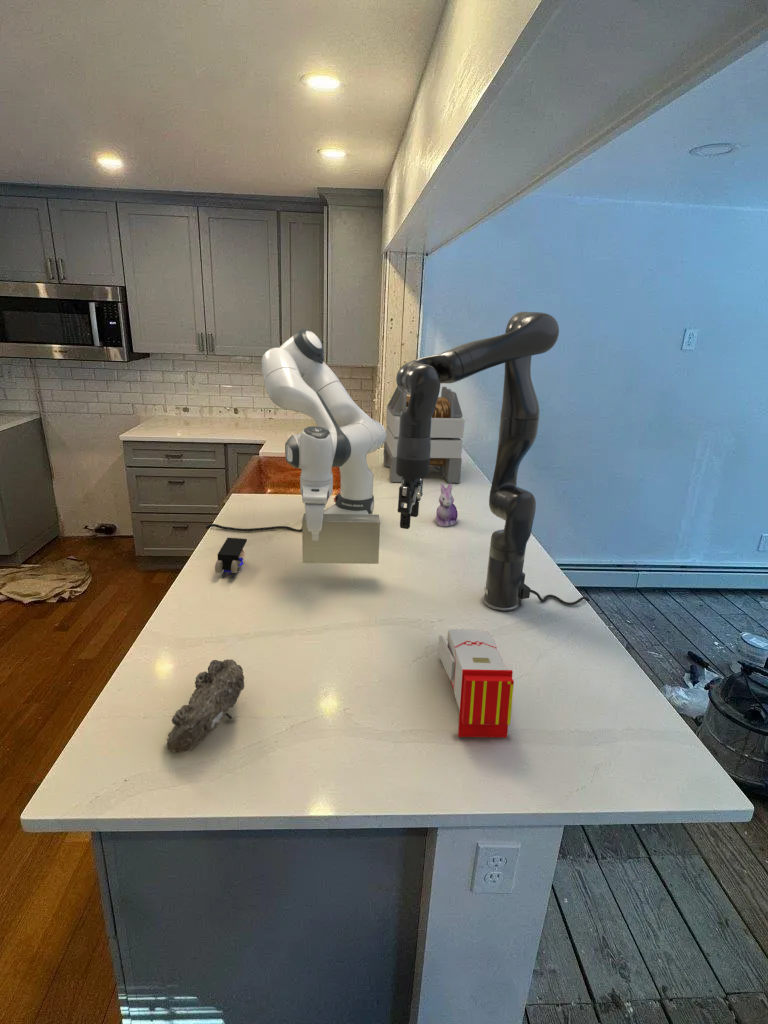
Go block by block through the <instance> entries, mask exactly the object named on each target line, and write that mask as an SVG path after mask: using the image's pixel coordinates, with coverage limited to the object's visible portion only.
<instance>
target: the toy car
mask: <svg viewBox="0 0 768 1024" xmlns="http://www.w3.org/2000/svg"><path fill="white" fill-rule="evenodd" d="M247 542H248V538H240V537H226V539H225V541H224V543H223V544H222V546H221V547H220V549H219V551H218V552H217V560H216V562H215V564H214V572H215V573H221V577H222V578H224V577H225V576H226V574H227V573H230V574H231V573H232V574H231V578H234V577H235V575H236V573H237V572H239V571H240V567H242V566H243V565H244V564H245V562H244V558H245V551H244V547H245V546H246V544H247Z"/></svg>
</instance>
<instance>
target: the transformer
mask: <svg viewBox="0 0 768 1024" xmlns="http://www.w3.org/2000/svg"><path fill="white" fill-rule="evenodd" d="M440 393H441V394H440V396H438V399H437V403H436V406H435V409H434V412H433V415H432V418H431V435H430V440H431V451H430V465H429V467H436V468H437V470H438V469H439V473H440V474H441V475H443V478H444V479H445V481H446V482H447V483H449V484H450V483H452V484H455V483H456V484H459V483H461V472H462V461H463V460H462V453H463V442H464V441H463V440H462V439H463V438H464V431H465V430H464V429H465V419H464V418H463V411H462V408H461V405H460V402H459V398H458V395H457V392H455V391H453V390H452V389H451V388H447V386H442V387H441V392H440ZM409 401H410V395H408V394H406V393H404V392H402V391H401V390H400V389H399V387H398V385H397V386H396V388H395V390H394V392H393V394H392V395H391V398H390V400H389V402H388V404H387V405H386V413H385V414H386V415H385V423H386V428H385V431H386V440H385V442H384V444H383V466H384V467H388V468H389V475H388V476H389V477H388V478H389V480H390V482H391V483H402V482H403V477H400V476H398V475H397V474H396V460H397V443H398V438H399V424H400V414H401V411H402V410H403V409H404V408H406V407H408V405H409Z"/></svg>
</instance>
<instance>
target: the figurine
mask: <svg viewBox="0 0 768 1024" xmlns="http://www.w3.org/2000/svg"><path fill="white" fill-rule="evenodd" d="M452 489H453V483H449V484H448V485H447V487H445V485H444V484H443V483H441V484H440V494H439V497H438V503H439V506H438V507H437V508H436V513H435V515H436V517H435V521H434V522H435V523H436V524H437V526H440V527H450V526H454V525H455V524H457V520H458V517H459V516H458V514H459V513H458V510H457V507H456V505H455V504H454V502H455V498H454V495H453V493H452Z"/></svg>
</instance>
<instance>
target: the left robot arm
mask: <svg viewBox="0 0 768 1024" xmlns="http://www.w3.org/2000/svg"><path fill="white" fill-rule="evenodd" d="M324 350H325V349H324V346H323V342H322V341H321V339H320V337H318V335H317V334H316V333H315V332H313V331H312V330H310V329H308V328H301V329H299V330H297V331H295V332H294V333H293V335H292V336H291V337H289V338H288V339H287V340H285V342H283V343H282V344H280V346H279V347H272V348H270V349H268V350H267V351H265V352H264V353H263V355H262V357H261V372H262V378H263V383H264V386H265V389H266V393H267V395H268V397H269V399H270V400H271V401H272V403H273V404H274V405H275V406H277V407H279V408H281V409H284V410H287V411H293V412H298V413H300V414H304V415H307V416H308V417H310V418H311V419H313V420H314V422H315V424H316V425H311V426H307V427H305V428H303V429H302V431H301V433H296V434H292V435H291V436H290V437H289V438H287V440H286V442H285V445H284V455H285V461H286V462H287V463H288V464H289V465H290V466H292V468H295V469H300V475H299V486H300V487H299V494H300V495H301V501H302V503H303V504H304V513H305V515H306V524H307V530H308V531H309V532H312V540H313V541H318V540H319V532H320V531H321V529H322V523H323V515H324V514H369V515H374V513H373V512H374V509H375V496H374V473H373V471H372V470H371V469H370V468H369V466H368V465H369V464H368V461H367V456H368V454H371V453H374V452H376V451H377V450H379V449H380V448H381V447H382V446H384V442H386V441H385V440H386V428H385V426H384V425H383V424H382V423H381V422H380V421H377V420H375V419H373V418H372V417H370V415H368V414H367V413H366V412H365V411H364V410H363V409H361V407H359V405H358V404H357V403H356V402H355V401H354V400H353V399H352V397H351V395H350V394H349V392H348V391H347V390H346V389H345V387H344V385H343V384H342V383H341V380H340V379H339V378H338V376H337V375H336V374H335V372H334V371H333V370H332V369H331V367H329V365H327V364H326V363H325V356H324V354H325V353H324ZM333 468H338V470H339V476H340V480H339V481H340V488H339V489H340V490H339V491H338V492H337V494H336V495H335V496H334V497H333V502H334V504H333V505H331V506H329V507H328V508H326V504H328V501H329V499H330V497H332V495H333V494H334V491H333V490H334V475H333V470H332V469H333ZM213 527H214V528H217V529H221V530H226V531H233V532H259V531H260V532H261V531H269V530H288V531H291V532H296V533H302V527H301V528H299V529H297V528H294V527H290V526H287V525H275V526H266V527H265V526H263V527H251V528H241V527H231V526H223V525H220V524H217V523H210V524H208V525H206V526H205V528H204V529H206V530H208V529H210V528H213Z"/></svg>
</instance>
